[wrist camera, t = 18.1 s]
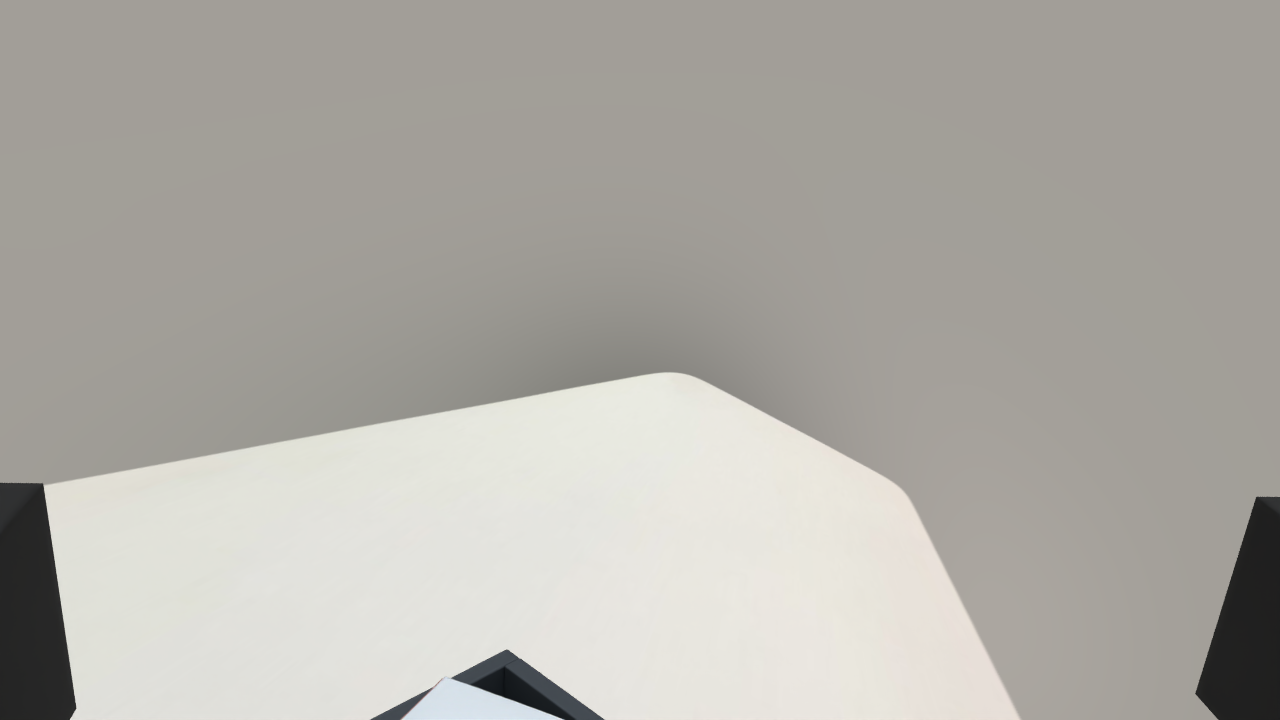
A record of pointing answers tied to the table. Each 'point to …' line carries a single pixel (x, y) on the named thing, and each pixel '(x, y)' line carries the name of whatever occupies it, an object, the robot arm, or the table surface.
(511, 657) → the dark grey square bin
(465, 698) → the small box
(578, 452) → the table surface
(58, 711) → the robot arm
